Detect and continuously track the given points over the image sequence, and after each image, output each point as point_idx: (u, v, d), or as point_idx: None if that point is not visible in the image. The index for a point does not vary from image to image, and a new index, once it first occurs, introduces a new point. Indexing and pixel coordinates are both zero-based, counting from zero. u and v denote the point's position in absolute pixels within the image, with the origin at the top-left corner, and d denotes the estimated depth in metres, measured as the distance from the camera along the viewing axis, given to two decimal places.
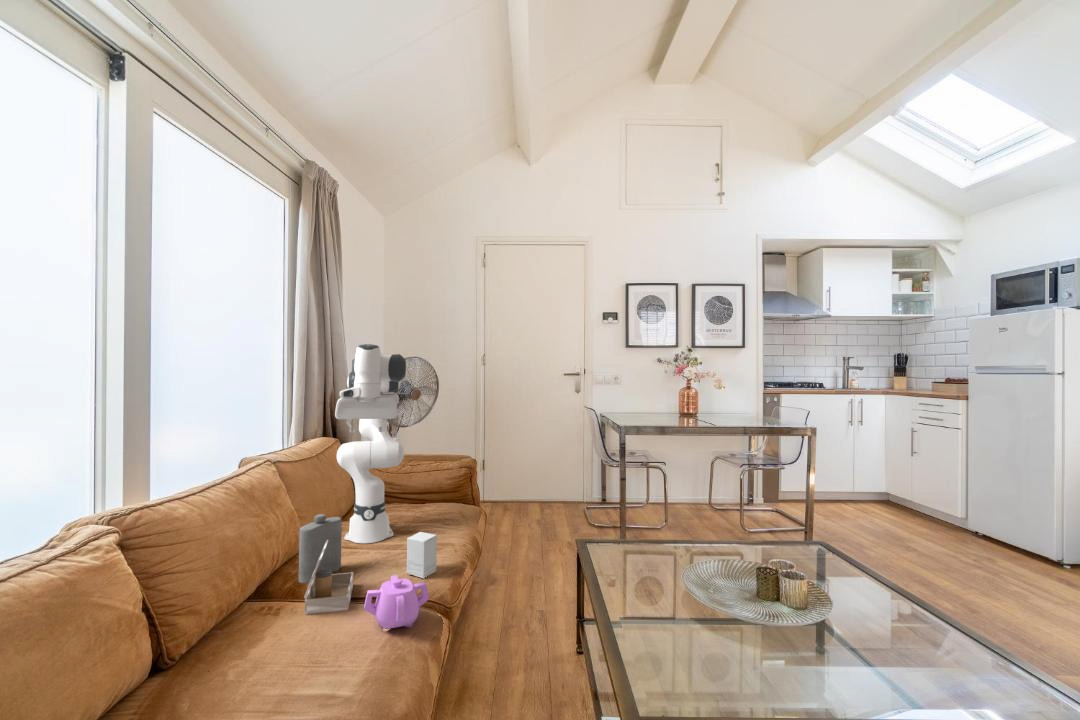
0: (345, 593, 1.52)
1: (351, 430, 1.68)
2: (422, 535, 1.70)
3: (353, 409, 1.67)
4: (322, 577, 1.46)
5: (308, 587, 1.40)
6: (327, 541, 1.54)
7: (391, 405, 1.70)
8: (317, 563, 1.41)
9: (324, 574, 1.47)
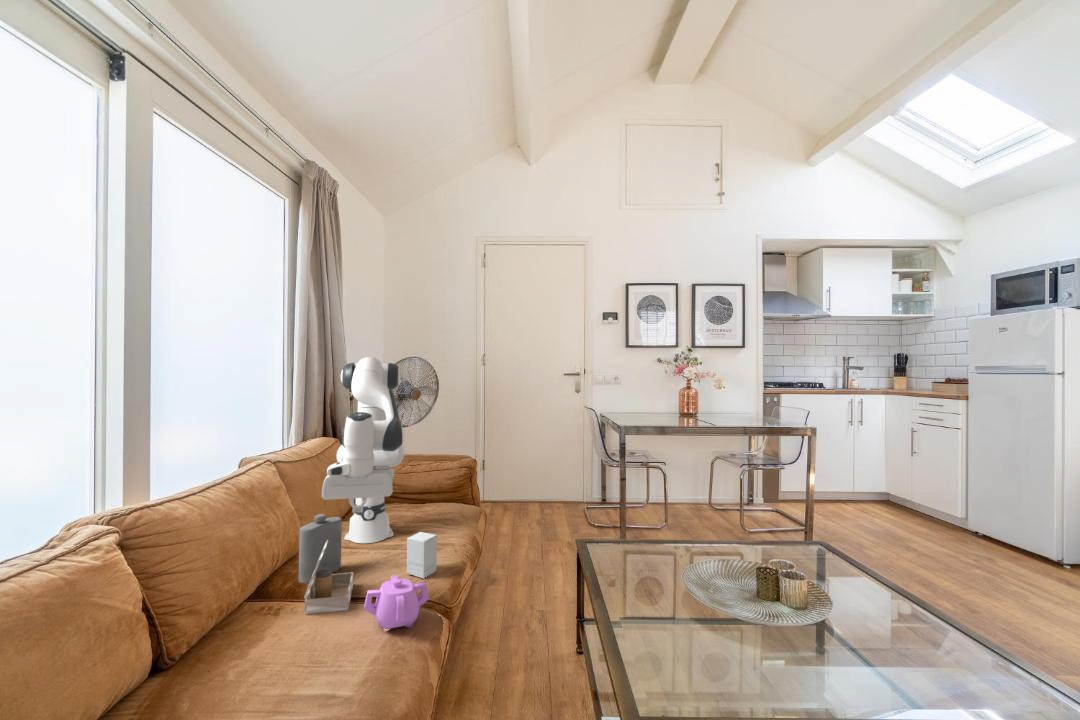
0: (345, 593, 1.52)
1: (354, 510, 1.50)
2: (422, 535, 1.70)
3: (342, 488, 1.48)
4: (322, 577, 1.46)
5: (308, 587, 1.40)
6: (327, 541, 1.54)
7: (386, 481, 1.51)
8: (317, 563, 1.41)
9: (324, 574, 1.47)
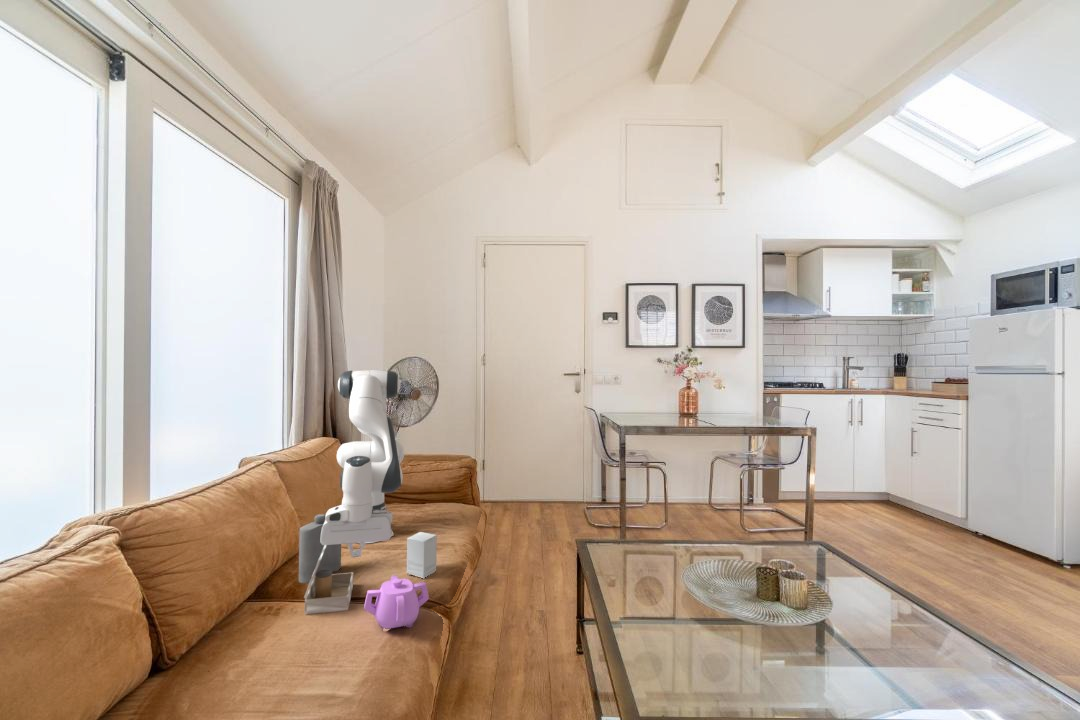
0: (345, 593, 1.52)
1: (353, 555, 1.50)
2: (422, 535, 1.70)
3: (341, 533, 1.48)
4: (322, 577, 1.46)
5: (308, 587, 1.40)
6: None
7: (384, 525, 1.51)
8: (317, 563, 1.41)
9: (324, 574, 1.47)
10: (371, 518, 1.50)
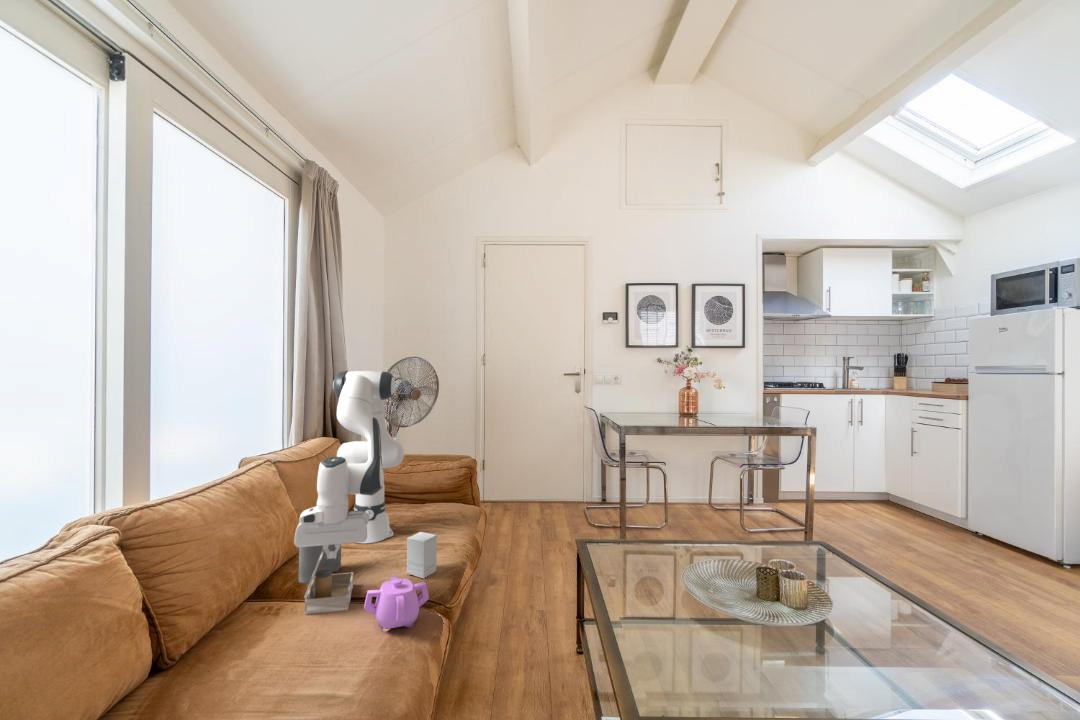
0: (345, 593, 1.52)
1: (328, 557, 1.48)
2: (422, 535, 1.70)
3: (315, 535, 1.46)
4: (322, 577, 1.46)
5: (308, 587, 1.40)
6: None
7: (360, 527, 1.49)
8: (317, 563, 1.40)
9: (324, 574, 1.47)
10: (346, 520, 1.48)
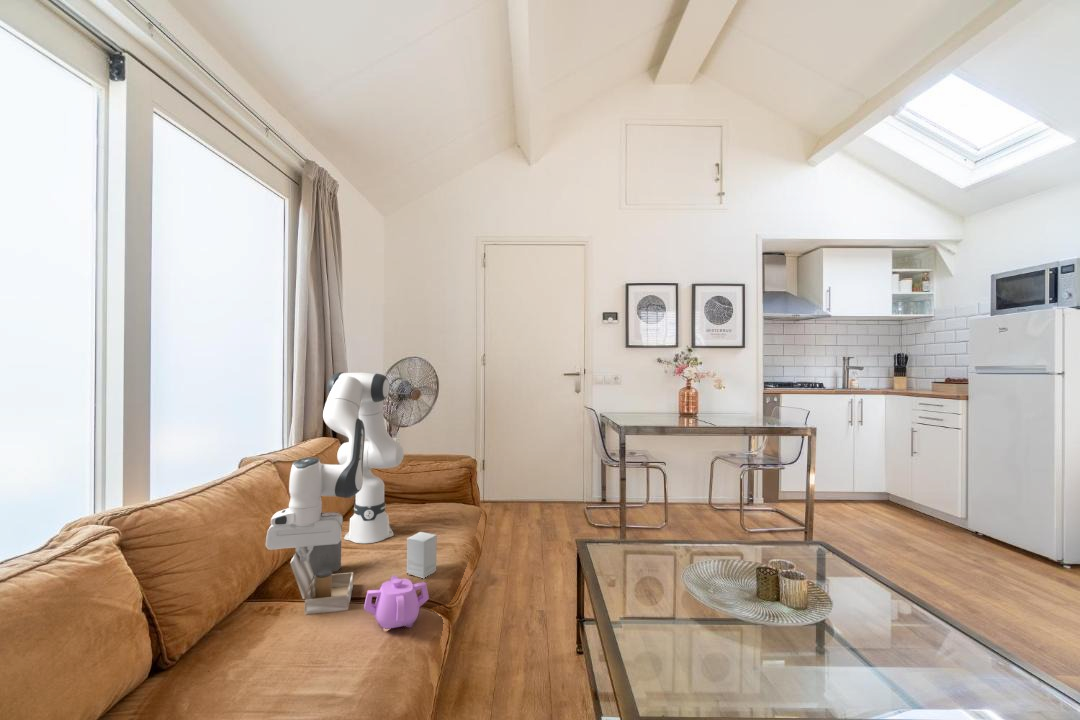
0: (345, 593, 1.52)
1: (301, 559, 1.45)
2: (422, 535, 1.70)
3: (288, 537, 1.44)
4: (322, 577, 1.46)
5: (299, 588, 1.39)
6: None
7: (333, 529, 1.47)
8: (291, 566, 1.39)
9: (324, 574, 1.47)
10: (319, 521, 1.46)
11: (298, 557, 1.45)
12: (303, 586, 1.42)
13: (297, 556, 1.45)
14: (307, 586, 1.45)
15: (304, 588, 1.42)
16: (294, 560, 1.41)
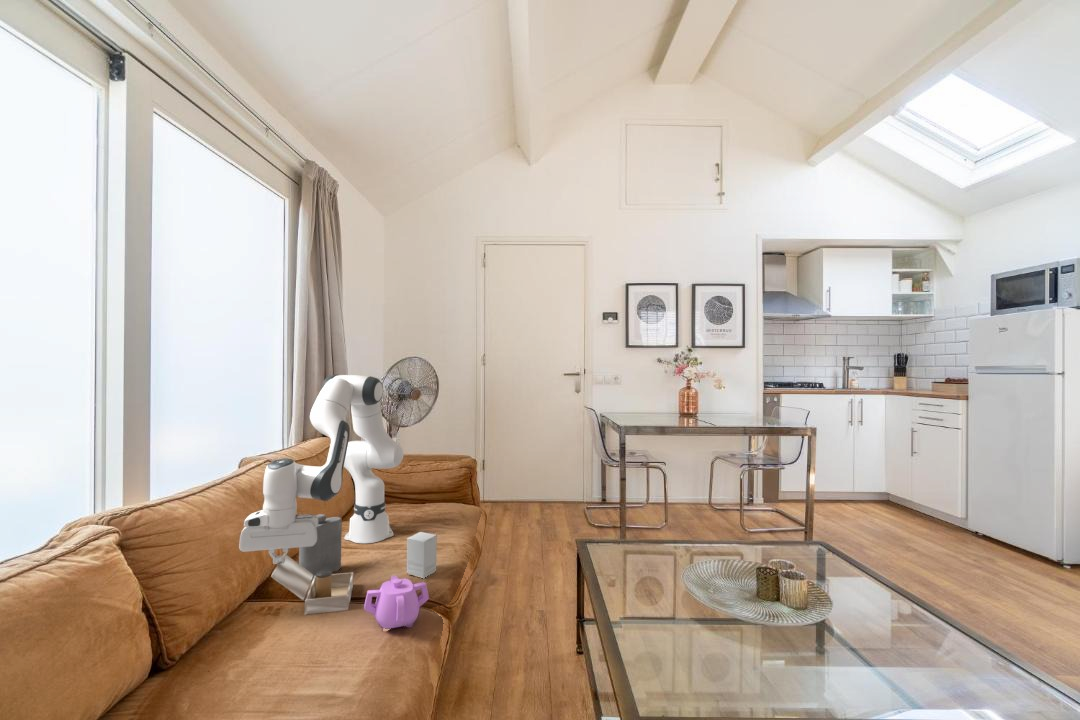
0: (345, 593, 1.52)
1: (275, 561, 1.44)
2: (422, 535, 1.70)
3: (261, 539, 1.42)
4: (322, 577, 1.46)
5: (294, 593, 1.39)
6: None
7: (308, 531, 1.45)
8: None
9: (324, 574, 1.47)
10: (294, 523, 1.44)
11: (282, 568, 1.44)
12: (299, 589, 1.42)
13: (280, 567, 1.44)
14: (305, 587, 1.45)
15: (301, 590, 1.42)
16: (276, 572, 1.40)
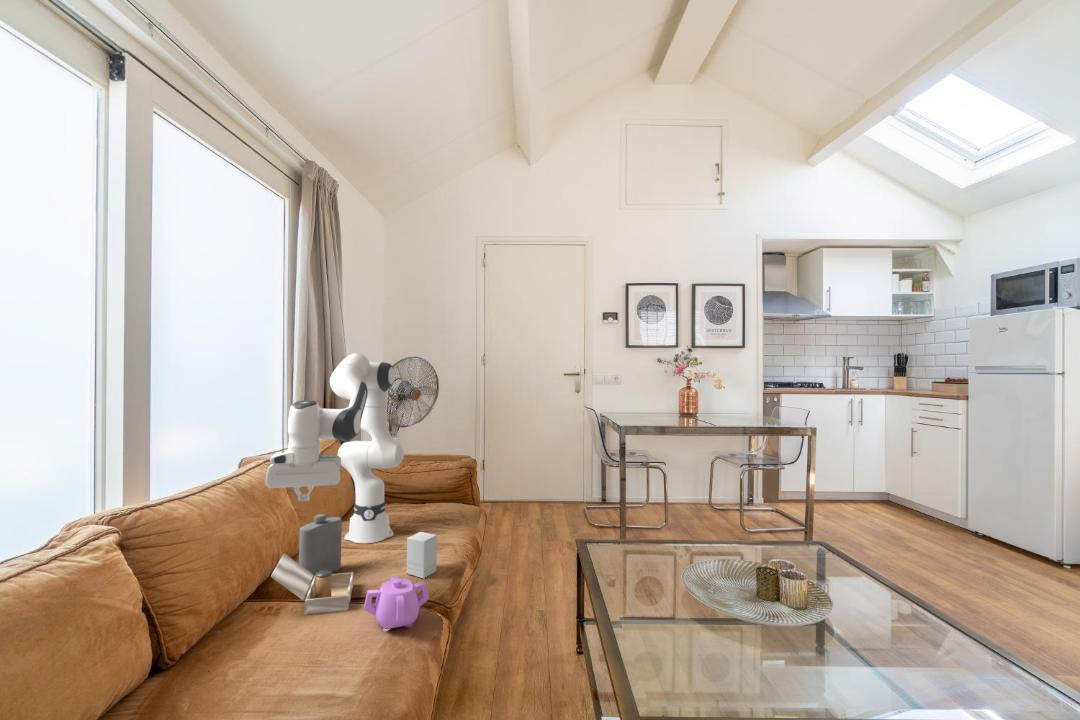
0: (345, 593, 1.52)
1: (300, 499, 1.48)
2: (422, 535, 1.70)
3: (287, 476, 1.46)
4: (322, 577, 1.46)
5: (294, 593, 1.39)
6: (283, 555, 1.51)
7: (332, 470, 1.49)
8: None
9: (324, 574, 1.47)
10: (318, 462, 1.48)
11: (282, 568, 1.44)
12: (299, 589, 1.42)
13: (280, 568, 1.44)
14: (305, 587, 1.45)
15: (301, 590, 1.42)
16: (276, 572, 1.40)
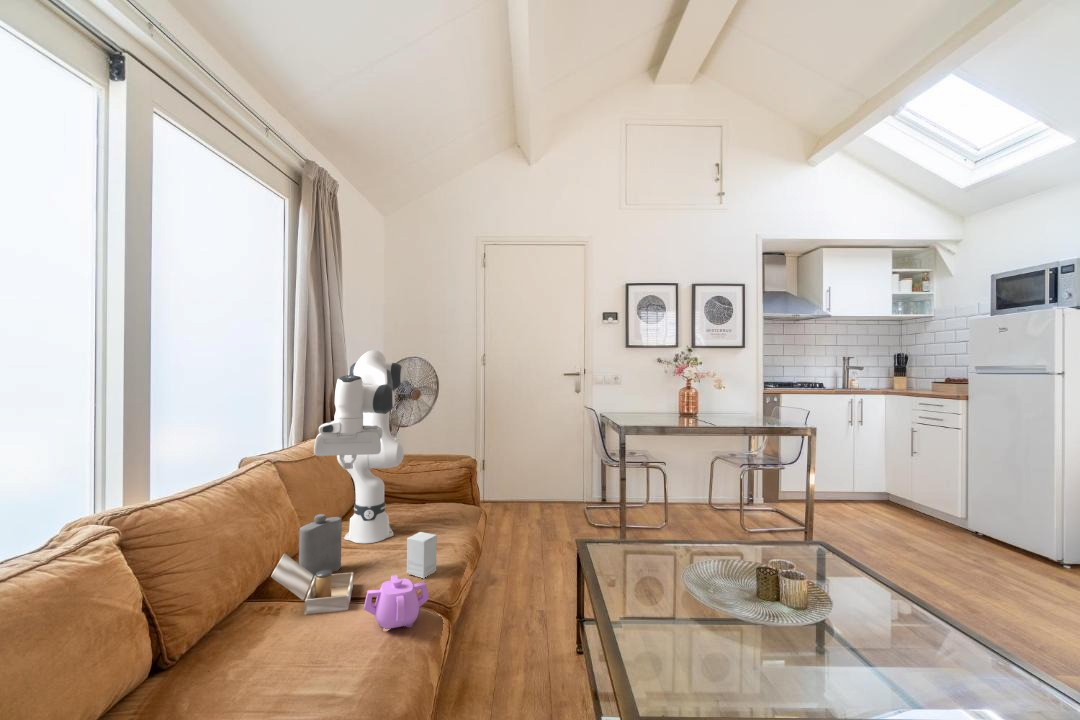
0: (345, 593, 1.52)
1: (344, 467, 1.59)
2: (422, 535, 1.70)
3: (333, 445, 1.57)
4: (322, 577, 1.46)
5: (294, 593, 1.39)
6: (283, 555, 1.51)
7: (374, 440, 1.60)
8: None
9: (324, 574, 1.47)
10: (362, 432, 1.60)
11: (282, 568, 1.44)
12: (299, 589, 1.42)
13: (280, 568, 1.44)
14: (305, 587, 1.45)
15: (301, 590, 1.42)
16: (276, 572, 1.40)
